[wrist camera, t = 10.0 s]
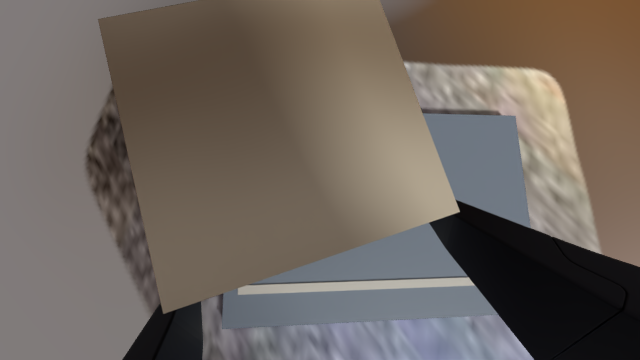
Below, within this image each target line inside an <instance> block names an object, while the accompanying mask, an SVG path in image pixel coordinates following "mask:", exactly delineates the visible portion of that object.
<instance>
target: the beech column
mask: <svg viewBox="0 0 640 360" xmlns="http://www.w3.org/2000/svg"><path fill="white" fill-rule="evenodd" d="M98 20H99V26H100V30H101V35H102V39H103V44H104V48H105V53H106V57H107V62H108V66H109V71H110V75H111V80H112V84H113V89H114V93H115V98H116V103H117V107H118V112H119V116H120V121H121V125H122V130H123V134H124V139H125V143H126V148H127V152H128V157H129V161H130V166H131V170H132V175H133V179H134V184H135V188H136V193H137V198H138V202H139V207H140V211H141V216H142V220H143V225H144V229H145V234H146V238H147V243H148V247H149V252H150V256H151V261H152V265H153V270H154V274H155V279H156V283H157V288H158V292H159V297H160V302H161V306H162V311H163V314H165V313H168V312H171V311H173V310H176V309H179V308H182V307H185V306H188V305H191V304H194V303H197V302H200V301H203V300H205V299H208V298H211V297H214V296H217V295H220V294H223V293H226V292H229V291H232V290H234V289H237V288H240V287H243V286H246V285H249V284H252V283H255V282H258V281H261V280H264V279H266V278H269V277H272V276H275V275H278V274H281V273H284V272H287V271H290V270H293V269H295V268H298V267H301V266H304V265H307V264H310V263H313V262H316V261H319V260H322V259H325V258H327V257H330V256H333V255H336V254H339V253H342V252H345V251H348V250H351V249H354V248H356V247H359V246H362V245H365V244H368V243H371V242H374V241H377V240H380V239H383V238H385V237H388V236H391V235H394V234H397V233H400V232H403V231H406V230H409V229H412V228H415V227H417V226H420V225H423V224H426V223H429V222H432V221H435V220H438V219H441V218H444V217H446V216H449V215H452V214H455V213H458V212H460V210H459V208H458V205H457V203H456V200H455V197H454V195H453V192H452V189H451V187H450V184H449V182H448V179H447V176H446V174H445V171H444V168H443V166H442V163H441V160H440V158H439V155H438V153H437V150H436V147H435V145H434V142H433V139H432V137H431V134H430V132H429V129H428V126H427V124H426V121H425V118H424V116H423V113H422V110H421V108H420V105H419V103H418V100H417V97H416V95H415V92H414V89H413V87H412V84H411V81H410V79H409V76H408V74H407V71H406V68H405V66H404V63H403V60H402V58H401V56H400V53H399V50H398V47H397V45H396V42H395V39H394V37H393V35H392V32H391V29H390V26H389V24H388V21H387V19H386V16H385V13H384V11H383V8H382V5H381V3H380V0H198V1H193V2H187V3H182V4H177V5H171V6H166V7H161V8H156V9H150V10H145V11H139V12H134V13H129V14H124V15H118V16H113V17H107V18H102V19H98Z"/></svg>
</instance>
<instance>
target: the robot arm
mask: <svg viewBox="0 0 640 360" xmlns="http://www.w3.org/2000/svg"><path fill="white" fill-rule="evenodd" d="M455 200H456V199H455ZM456 203H457V205H458V208H459V210H460V212H458V213H455V214H452V215H449V216H446V217H444V218H441V219H438V220H435V221H432V222H429V224H430V225H431V227H432V228H433V230H434V231H435V233H436V235H437V236H438V238H439V239H440V241H441V242H442V244H443V245H444V247H445V248H446V250H447V251H448V252H449V254H450V255H451V256H452V257H453V259H454V260H455V261H456V262H457V264H458V265H459V266H460V267H461V269H462V270H463V271H464V272H465V274H466V275H467V276H468V277H469V279H470V280H471V281H472V282H473V284H474V285H475V286H476V287H477V288H478V290H479V291H480V292H481V293H482V295H483V296H484V297H485V298H486V300H487V301H488V302H489V303H490V305H491V306H492V307H493V308H494V310H495V311H496V312H497V313H498V315H499V316H500V317H501V318H502V320H503V321H504V322H505V323H506V325H507V326H508V327H509V328H510V330H511V331H512V332H513V333H514V335H515V336H516V337H517V338H518V340H519V341H520V342H521V343H522V345H523V346H524V347H525V348H526V350H527V351H528V352H529V353H530V355H531V356H532V357H533V358H534V360H640V267H638V266H635V265H632V264H629V263H626V262H622V261H619V260H616V259H613V258H610V257H607V256H605V255H602V254H599V253H596V252H593V251H590V250H587V249H584V248H582V247H579V246H576V245H574V244H571V243H568V242H565V241H563V240H560V239H558V238H555V237H551V236H549V235H547V234H544V233H542V232H539V231H536V230H534V229H531V228H529V227H526V226H523V225H521V224H518V223H516V222H513V221H510V220H508V219H505V218H503V217H500V216H497V215H495V214H492V213H489V212H487V211H484V210H482V209H479V208H476V207H474V206H471V205H469V204H466V203H463V202H461V201H458V200H456ZM202 353H203V332H202V313H201V301H200V302H197V303H194V304H191V305H188V306H185V307H182V308H179V309H176V310H173V311H171V312H168V313H165V314H163V311H162V306H161V303H160V304H159V306H158V307H157V309H156V310H155V312H154V313H153V315H152V316H151V318H150V319H149V321H148V322H147V324H146V325H145V327H144V328H143V330H142V331H141V333H140V334H139V336H138V337H137V339H136V340H135V342H134V343H133V345H132V346H131V348H130V349H129V351H128V352H127V354H126V355H125V357H124V358H123V360H202Z"/></svg>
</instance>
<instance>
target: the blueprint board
mask: <svg viewBox="0 0 640 360" xmlns="http://www.w3.org/2000/svg"><path fill="white" fill-rule="evenodd" d="M423 116H424V118H425V121H426V124H427V126H428V129H429V132H430V134H431V137H432V139H433V142H434V145H435V147H436V150H437V153H438V155H439V158H440V160H441V163H442V166H443V168H444V171H445V174H446V176H447V179H448V182H449V184H450V187H451V189H452V192H453V195H454V197H455V199H456V200H458V201H461V202H463V203H466V204H469V205H471V206H474V207H476V208H479V209H482V210H484V211H487V212H489V213H492V214H495V215H497V216H500V217H503V218H505V219H508V220H510V221H513V222H516V223H518V224H521V225H523V226H526V227H529V228H531V227H530V220H529V213H528V205H527V198H526V191H525V183H524V176H523V169H522V161H521V154H520V147H519V140H518V132H517V125H516V118H515V116H501V115H464V114H427V113H423ZM484 315H498V313H497V312H496V311H495V310H494V308H493V307H492V306H491V305H490V303H489V302H488V301H487V300H486V298H485V297H484V296H483V295H482V293H481V292H480V291H479V290H478V288H477V287H476V286H475V285H474V284H473V282H472V281H471V280H470V279H469V277H468V276H467V275H466V274H465V272H464V271H463V270H462V269H461V267H460V266H459V265H458V264H457V262H456V261H455V260H454V259H453V257H452V256H451V255H450V254H449V252H448V251H447V250H446V248H445V247H444V245H443V244H442V242H441V241H440V239H439V238H438V236H437V235H436V233H435V231H434V230H433V228H432V227H431V225H430V224H429V223H426V224H423V225H420V226H417V227H415V228H412V229H409V230H406V231H403V232H400V233H397V234H394V235H391V236H388V237H385V238H383V239H380V240H377V241H374V242H371V243H368V244H365V245H362V246H359V247H356V248H354V249H351V250H348V251H345V252H342V253H339V254H336V255H333V256H330V257H327V258H325V259H322V260H319V261H316V262H313V263H310V264H307V265H304V266H301V267H298V268H295V269H293V270H290V271H287V272H284V273H281V274H278V275H275V276H272V277H269V278H266V279H264V280H261V281H258V282H255V283H252V284H249V285H246V286H243V287H240V288H237V289H234V290H232V291H229V292H226V293H223V314H222V329H231V328H251V327H270V326H290V325H309V324H329V323H348V322H368V321H387V320H406V319H426V318H445V317H465V316H484Z"/></svg>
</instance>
